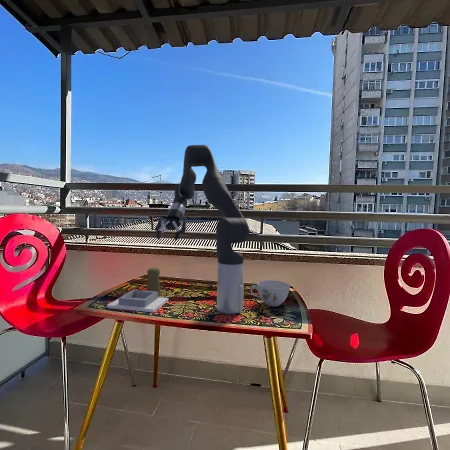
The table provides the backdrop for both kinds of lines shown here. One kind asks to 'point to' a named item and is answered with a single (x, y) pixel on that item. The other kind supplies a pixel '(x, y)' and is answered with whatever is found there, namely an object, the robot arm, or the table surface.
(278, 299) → the teacup
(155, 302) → the socket board
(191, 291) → the table surface
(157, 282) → the cork
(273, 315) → the table surface
